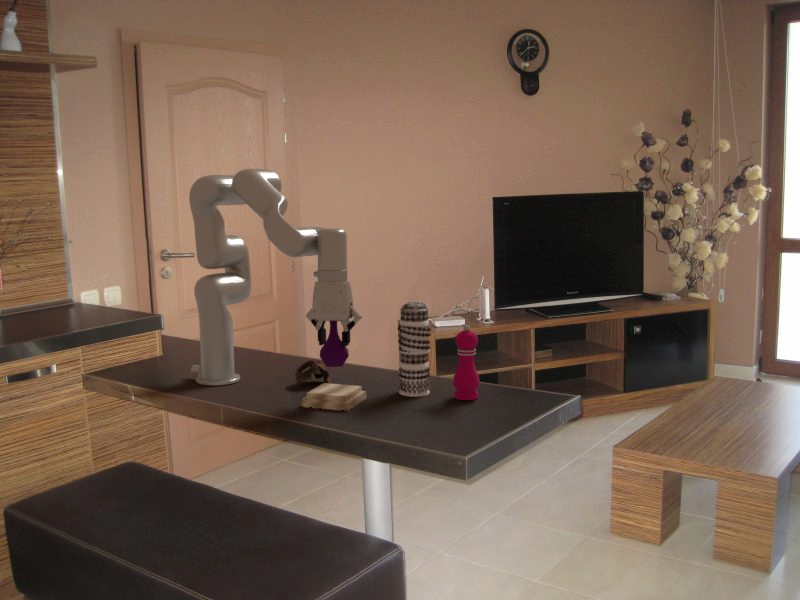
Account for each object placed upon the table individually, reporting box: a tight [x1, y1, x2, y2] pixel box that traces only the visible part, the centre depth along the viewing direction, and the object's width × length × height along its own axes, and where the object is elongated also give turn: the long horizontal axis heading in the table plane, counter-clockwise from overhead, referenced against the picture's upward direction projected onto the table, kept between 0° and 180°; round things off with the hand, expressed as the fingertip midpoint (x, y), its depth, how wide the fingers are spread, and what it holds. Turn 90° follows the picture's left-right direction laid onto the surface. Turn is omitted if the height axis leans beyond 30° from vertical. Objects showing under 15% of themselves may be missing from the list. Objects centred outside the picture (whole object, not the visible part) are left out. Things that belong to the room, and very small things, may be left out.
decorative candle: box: [397, 301, 432, 398], centre depth 213 cm, size 9×9×25 cm
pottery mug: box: [294, 359, 332, 385], centre depth 225 cm, size 12×10×8 cm
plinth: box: [301, 382, 367, 412], centre depth 205 cm, size 13×13×4 cm
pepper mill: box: [452, 324, 481, 402], centre depth 208 cm, size 7×7×20 cm
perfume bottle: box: [319, 321, 350, 368], centre depth 203 cm, size 8×8×18 cm
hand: (334, 344), depth 203 cm, fingers closed on perfume bottle, 5 cm apart
